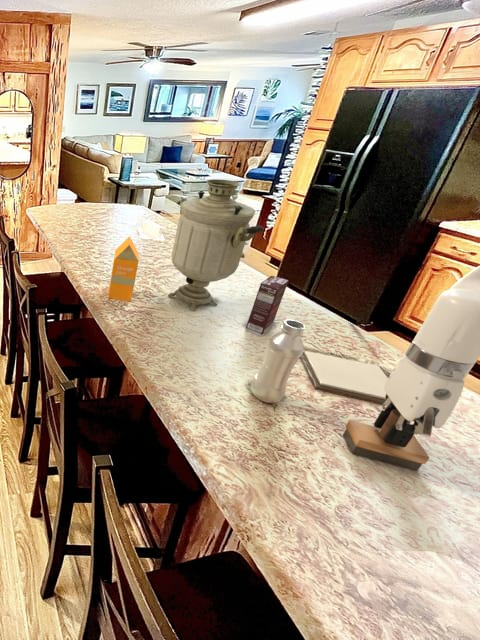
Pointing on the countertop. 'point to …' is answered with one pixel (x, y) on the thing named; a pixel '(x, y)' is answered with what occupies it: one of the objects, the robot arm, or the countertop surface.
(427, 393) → the robot arm
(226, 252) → the samovar
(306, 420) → the countertop surface
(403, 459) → the scrub brush
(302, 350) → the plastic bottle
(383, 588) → the countertop surface
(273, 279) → the supplement box
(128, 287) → the orange juice
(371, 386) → the tile board
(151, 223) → the napkin holder
